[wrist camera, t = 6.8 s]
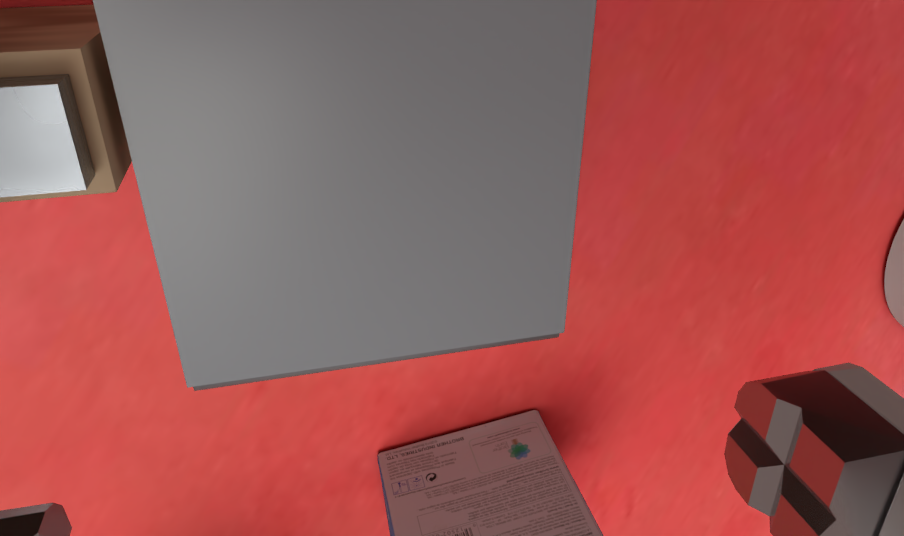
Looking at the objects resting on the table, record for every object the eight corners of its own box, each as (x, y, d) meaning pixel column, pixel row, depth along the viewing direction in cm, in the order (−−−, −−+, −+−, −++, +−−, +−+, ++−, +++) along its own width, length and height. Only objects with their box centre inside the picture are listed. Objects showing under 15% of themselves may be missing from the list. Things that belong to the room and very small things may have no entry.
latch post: (135, 3, 26) (80, 48, 18) (157, 108, 28) (116, 191, 20) (-57, 10, 25) (-207, 62, 17) (-20, 120, 27) (-138, 214, 19)
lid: (592, -67, 21) (602, -65, 21) (556, 329, 29) (563, 340, 28) (86, -57, 18) (79, -54, 18) (191, 382, 26) (189, 396, 25)
